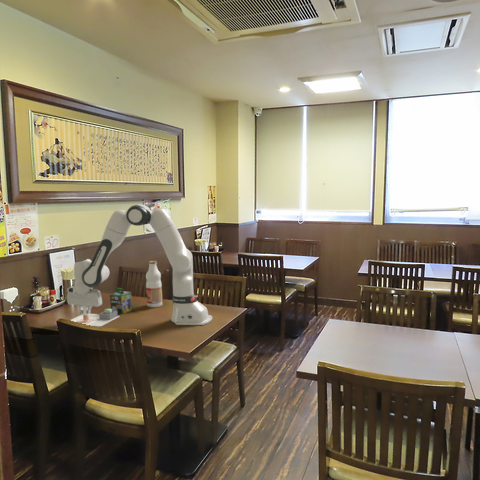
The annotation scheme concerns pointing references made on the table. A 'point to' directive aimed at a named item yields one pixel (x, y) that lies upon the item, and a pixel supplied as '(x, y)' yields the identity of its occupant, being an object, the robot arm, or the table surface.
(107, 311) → the button
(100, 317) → the board
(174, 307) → the robot arm
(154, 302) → the fruit juice
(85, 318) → the marker
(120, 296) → the chalk box
